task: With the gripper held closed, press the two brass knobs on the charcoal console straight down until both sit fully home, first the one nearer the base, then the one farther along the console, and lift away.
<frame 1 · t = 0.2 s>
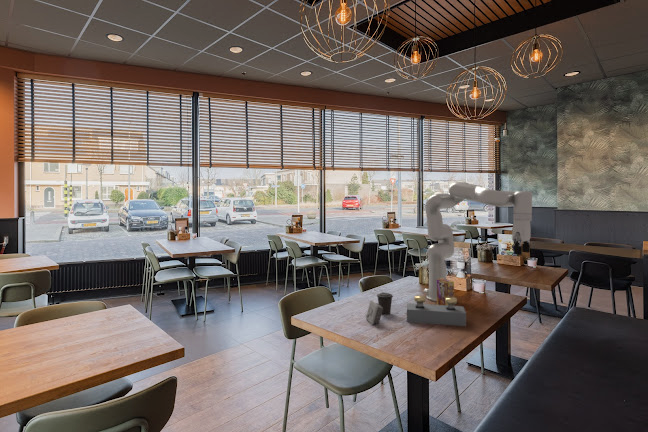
hand: (521, 253, 170), 31 cm above the table, tool pointing down, fingers open, 9 cm apart
electrical switch: (373, 321, 169), on the table
console: (435, 320, 169), on the table
coffee cup: (384, 313, 181), on the table
candy box: (445, 309, 186), on the table
knob 1: (419, 303, 171), point 8 cm above the table, slide at 0.0 cm
knob 2: (450, 305, 167), point 8 cm above the table, slide at 0.0 cm
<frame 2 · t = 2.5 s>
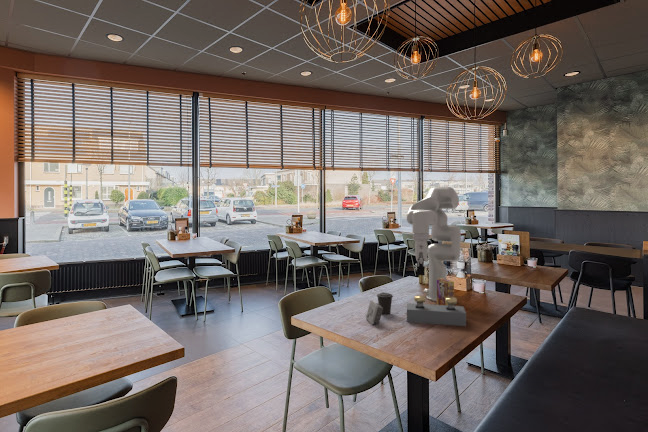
hand: (420, 272, 170), 22 cm above the table, tool pointing down, fingers open, 9 cm apart
nothing on the table moved.
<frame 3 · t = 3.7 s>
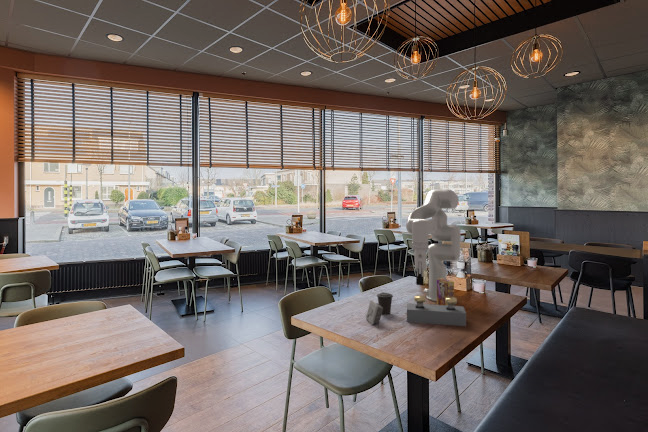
hand: (419, 284, 170), 17 cm above the table, tool pointing down, fingers closed
nothing on the table moved.
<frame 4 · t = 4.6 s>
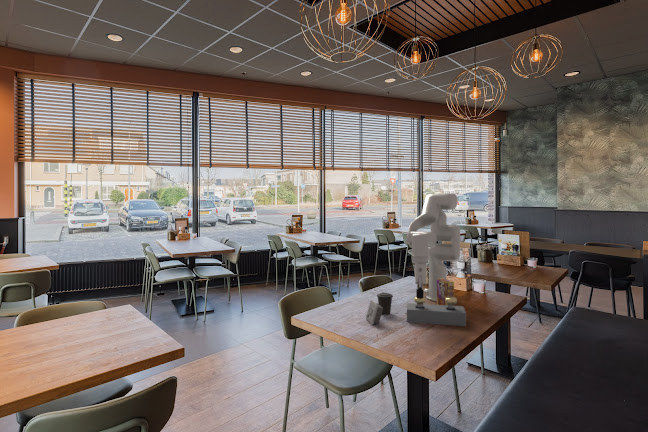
hand: (419, 297, 170), 11 cm above the table, tool pointing down, fingers closed
knob 1: (419, 304, 171), point 7 cm above the table, slide at 0.4 cm, touching gripper
everything else where it was.
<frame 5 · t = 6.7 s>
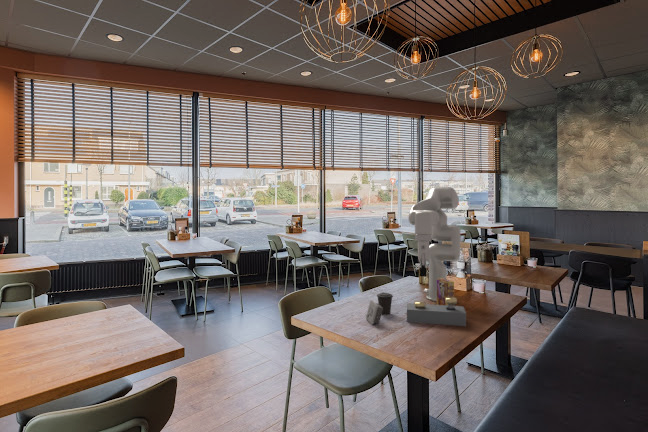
hand: (423, 276, 170), 21 cm above the table, tool pointing down, fingers closed
knob 1: (419, 309, 171), point 5 cm above the table, slide at 2.8 cm
everything else where it was.
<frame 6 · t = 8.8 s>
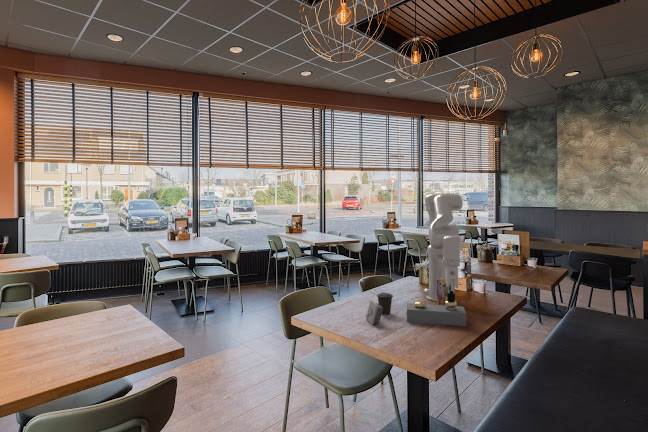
hand: (451, 301, 167), 10 cm above the table, tool pointing down, fingers closed
knob 2: (450, 308, 167), point 6 cm above the table, slide at 1.5 cm, touching gripper
everything else where it was.
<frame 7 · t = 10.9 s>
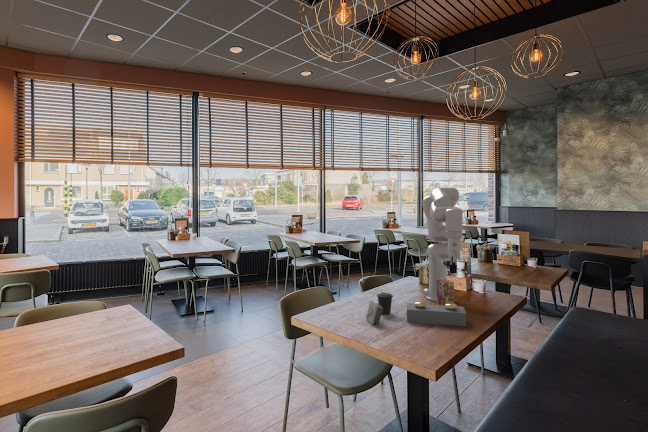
hand: (453, 272, 170), 22 cm above the table, tool pointing down, fingers closed
knob 2: (450, 311, 167), point 5 cm above the table, slide at 2.8 cm
everything else where it was.
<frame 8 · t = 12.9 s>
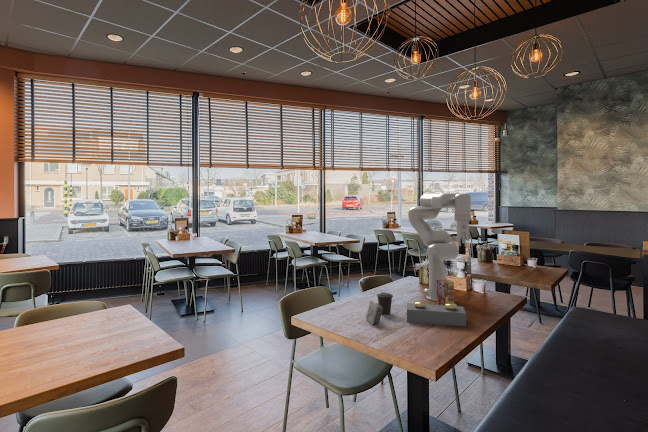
hand: (462, 254, 182), 29 cm above the table, tool pointing down, fingers closed
nothing on the table moved.
at the end: knob 1 slide at 2.8 cm; knob 2 slide at 2.8 cm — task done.
